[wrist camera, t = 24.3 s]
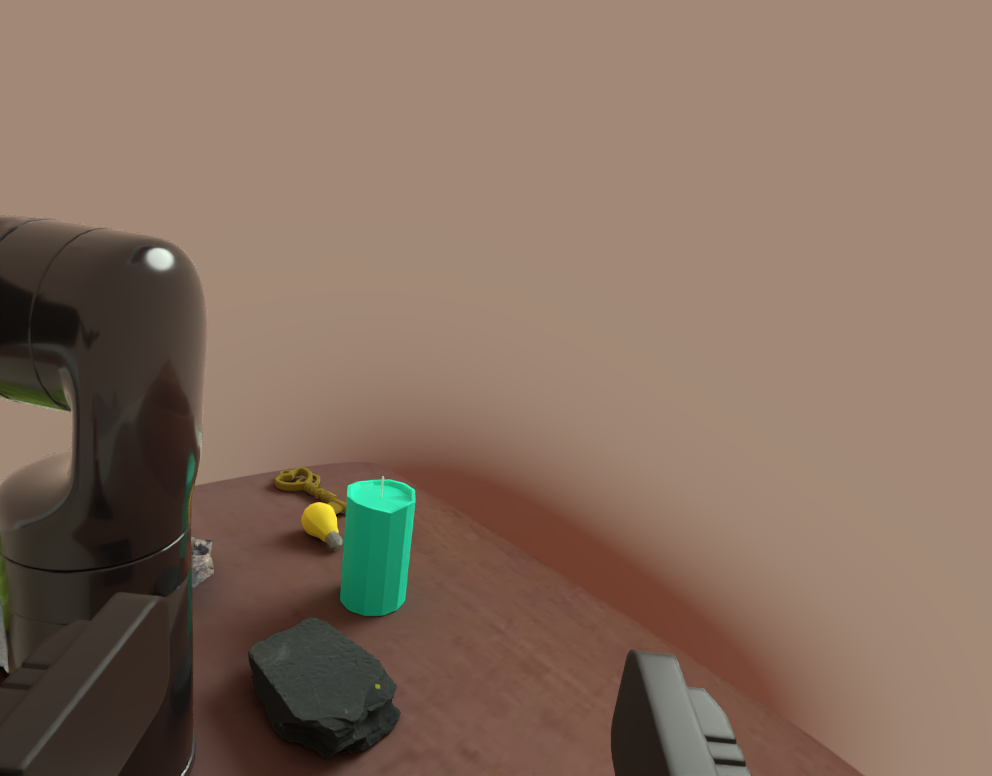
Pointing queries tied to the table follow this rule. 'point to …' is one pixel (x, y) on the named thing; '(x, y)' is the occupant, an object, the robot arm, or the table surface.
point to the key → (308, 487)
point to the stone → (323, 689)
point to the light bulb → (322, 524)
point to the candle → (376, 546)
